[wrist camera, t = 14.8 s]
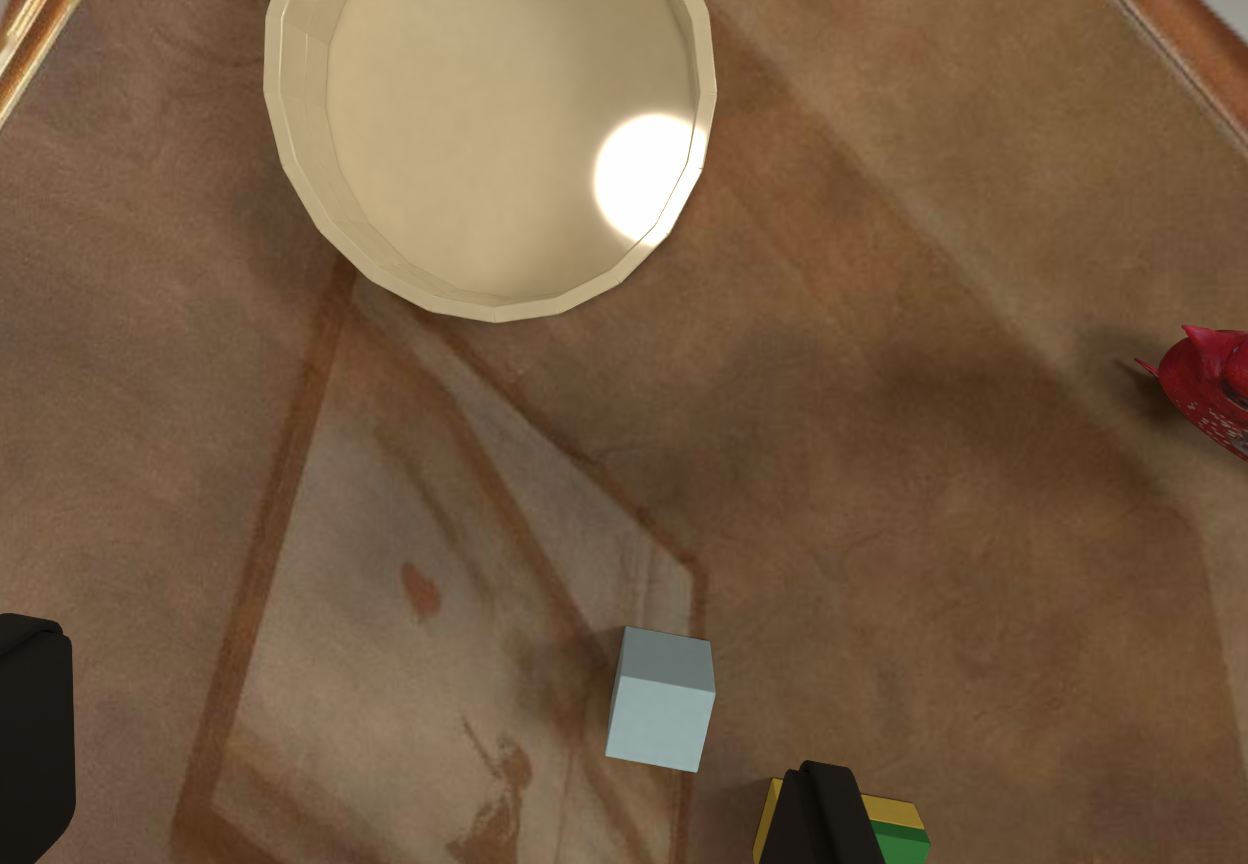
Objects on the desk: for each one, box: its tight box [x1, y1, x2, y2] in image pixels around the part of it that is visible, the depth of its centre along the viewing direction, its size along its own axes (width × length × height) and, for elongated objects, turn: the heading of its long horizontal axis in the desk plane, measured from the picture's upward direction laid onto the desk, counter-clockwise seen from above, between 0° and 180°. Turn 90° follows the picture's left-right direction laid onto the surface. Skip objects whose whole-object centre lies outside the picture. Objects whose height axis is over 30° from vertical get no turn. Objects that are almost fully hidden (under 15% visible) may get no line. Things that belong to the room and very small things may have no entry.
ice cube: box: [605, 626, 716, 772], centre depth 32 cm, size 4×4×4 cm
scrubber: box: [753, 778, 931, 864], centre depth 35 cm, size 7×4×2 cm, turn 80°
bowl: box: [263, 0, 717, 323], centre depth 26 cm, size 15×15×4 cm
